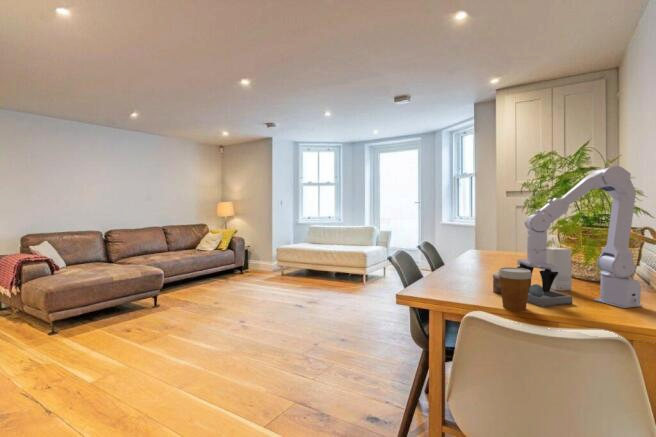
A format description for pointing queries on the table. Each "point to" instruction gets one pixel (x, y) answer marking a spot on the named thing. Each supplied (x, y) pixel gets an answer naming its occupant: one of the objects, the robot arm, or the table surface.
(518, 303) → the disposable coffee cup
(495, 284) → the shaker
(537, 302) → the tray
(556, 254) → the skincare box
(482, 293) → the table surface
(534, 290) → the ball
